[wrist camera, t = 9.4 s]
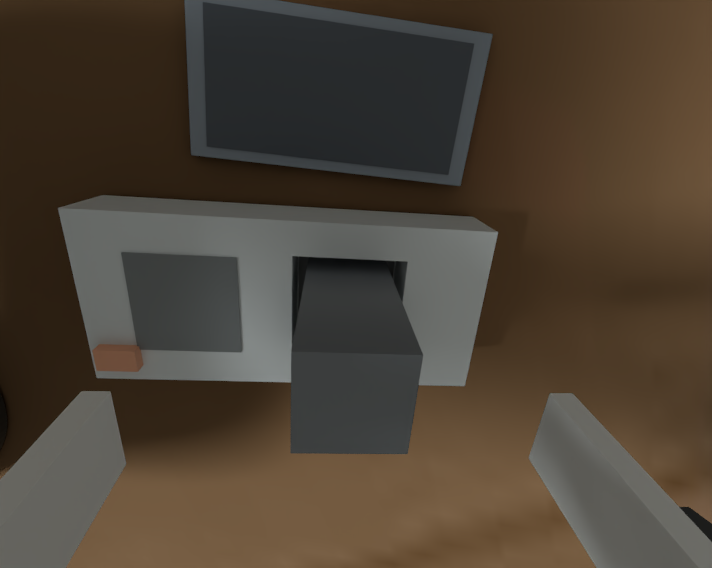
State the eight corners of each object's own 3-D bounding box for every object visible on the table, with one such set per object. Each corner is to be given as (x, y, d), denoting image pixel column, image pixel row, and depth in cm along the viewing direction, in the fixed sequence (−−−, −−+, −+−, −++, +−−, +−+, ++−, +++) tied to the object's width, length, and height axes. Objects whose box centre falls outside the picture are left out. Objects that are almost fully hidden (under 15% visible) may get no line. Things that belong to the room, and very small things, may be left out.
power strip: (129, 343, 23) (89, 385, 19) (102, 194, 20) (48, 210, 16) (447, 352, 25) (468, 392, 21) (472, 216, 21) (503, 235, 18)
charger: (307, 321, 23) (290, 453, 13) (309, 253, 21) (291, 351, 12) (377, 323, 23) (407, 454, 14) (383, 257, 21) (423, 355, 12)
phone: (454, 183, 21) (460, 186, 20) (197, 154, 20) (190, 155, 19) (484, 39, 19) (493, 33, 18) (191, -7, 17) (183, -15, 16)
